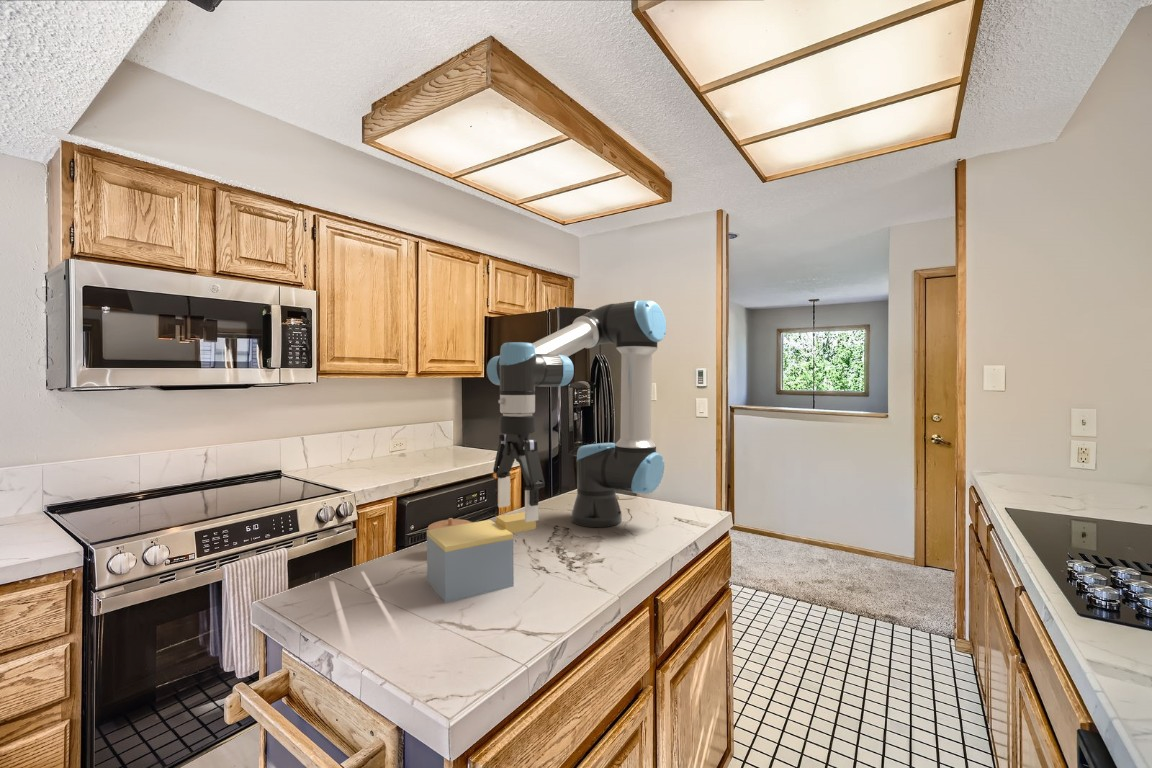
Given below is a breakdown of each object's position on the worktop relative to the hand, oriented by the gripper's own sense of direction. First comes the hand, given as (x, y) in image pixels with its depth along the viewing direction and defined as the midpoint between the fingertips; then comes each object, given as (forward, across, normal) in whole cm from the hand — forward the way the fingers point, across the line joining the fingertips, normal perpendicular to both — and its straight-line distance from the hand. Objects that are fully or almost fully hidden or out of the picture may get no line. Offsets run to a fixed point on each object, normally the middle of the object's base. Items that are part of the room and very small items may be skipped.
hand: (517, 513), depth 110 cm
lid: (+3, 0, -7) cm, 8 cm away
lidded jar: (+15, -21, -8) cm, 27 cm away
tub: (+14, 0, -10) cm, 18 cm away
